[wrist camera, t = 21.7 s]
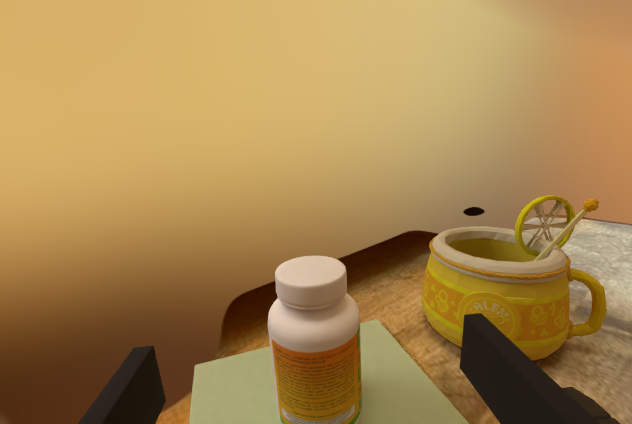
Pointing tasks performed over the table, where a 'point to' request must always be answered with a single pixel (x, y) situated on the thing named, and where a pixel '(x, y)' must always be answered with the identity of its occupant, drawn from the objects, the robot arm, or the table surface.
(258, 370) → the light mat
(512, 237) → the mug
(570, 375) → the table surface
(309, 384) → the supplement bottle
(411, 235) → the table surface
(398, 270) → the table surface
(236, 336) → the table surface
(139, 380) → the robot arm
